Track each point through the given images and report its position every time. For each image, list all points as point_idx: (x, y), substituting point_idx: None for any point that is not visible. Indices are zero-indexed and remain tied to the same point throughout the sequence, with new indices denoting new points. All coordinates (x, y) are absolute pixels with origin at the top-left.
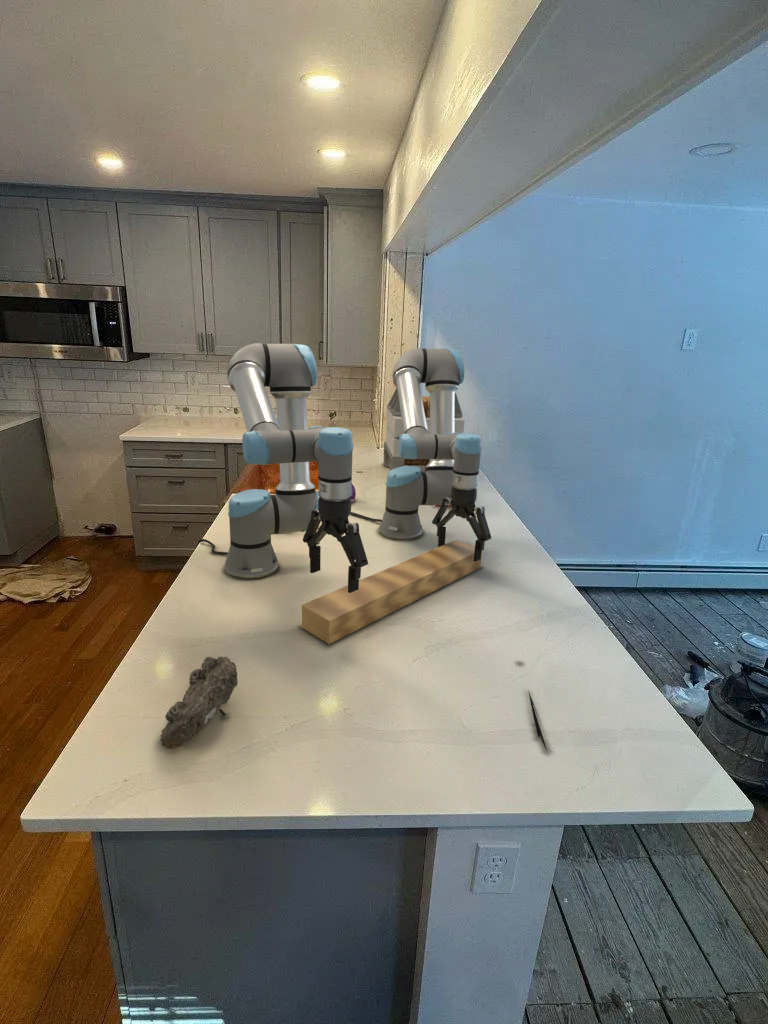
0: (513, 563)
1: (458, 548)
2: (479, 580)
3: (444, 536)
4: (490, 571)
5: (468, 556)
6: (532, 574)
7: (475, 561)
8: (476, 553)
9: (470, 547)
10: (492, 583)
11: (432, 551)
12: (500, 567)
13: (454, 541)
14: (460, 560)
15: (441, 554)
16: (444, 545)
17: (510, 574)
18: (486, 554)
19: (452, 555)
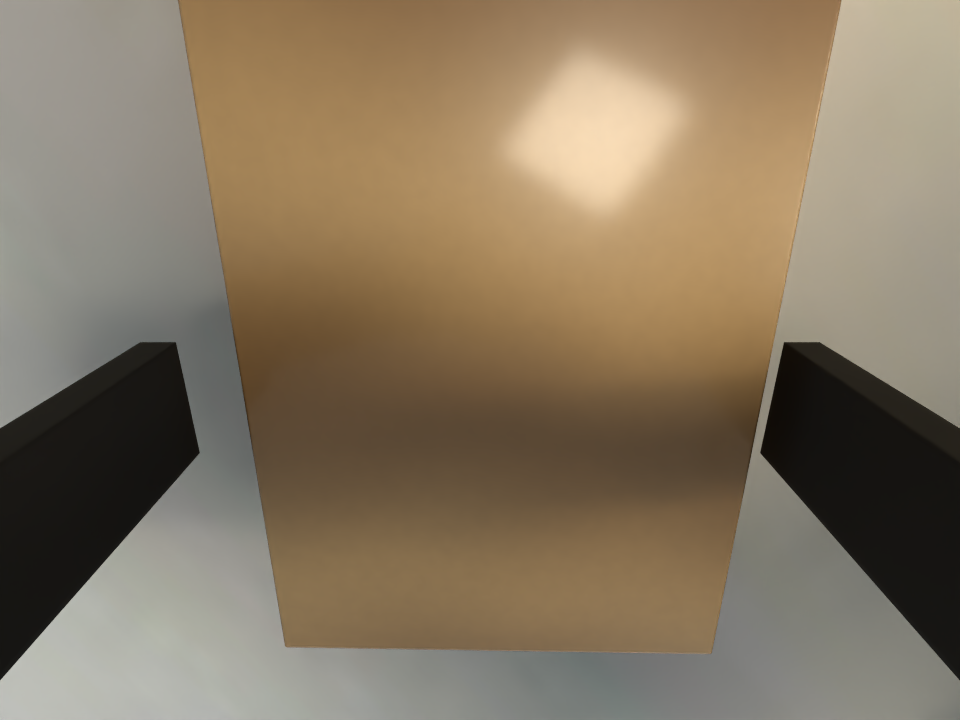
0: (242, 710)
1: (512, 455)
2: (163, 270)
3: (861, 534)
4: (244, 493)
5: (238, 346)
6: (28, 661)
7: (141, 342)
8: (55, 398)
9: (419, 587)
10: (51, 310)
11: (780, 4)
12: (250, 602)
13: (695, 594)
14: (207, 124)
15: (565, 23)
16: (737, 391)
17: (111, 558)
18: (479, 703)
19: (402, 158)
